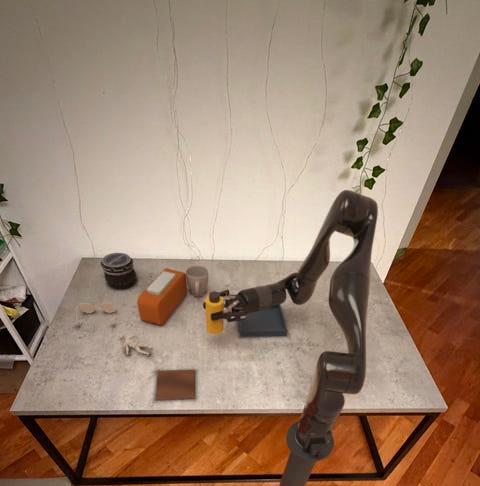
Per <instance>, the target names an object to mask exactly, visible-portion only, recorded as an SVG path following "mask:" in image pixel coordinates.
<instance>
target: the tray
mask: <svg viewBox="0 0 480 486" xmlns="http://www.w3.org/2000/svg"><path fill="white" fill-rule="evenodd" d="M238 325H239V332H240V337H241V338H244V337H245V338H246V337H251V338H252V337H287V334H288V328H287V324H286V319H285V317H284V312H283V309H282V304H280V305H276V306H272V307H269V308H266V309H264V310H260V311H257V312H253V313H249V314H246V319H245V320H242V321H238Z"/></svg>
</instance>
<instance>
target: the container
mask: <svg viewBox="0 0 480 486" xmlns="http://www.w3.org/2000/svg"><path fill="white" fill-rule="evenodd" d="M100 266H101V268H102V271H103V273H104V280H105V282H106V283H107V284H108V285H109V287H110V288H112V289H115V290H125V289H129V288H131V287H133V286H134V285H135V284H136V281H137V280H136V277H137V273H136V271H135V269H134V267H135V266H134V259H133V258H132V257H131V256H130V255H129V254H128V253H123V252H112V253H108V254H106V255H105V256H103V257H102V259H101V262H100Z"/></svg>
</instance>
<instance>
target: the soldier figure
mask: <svg viewBox="0 0 480 486" xmlns="http://www.w3.org/2000/svg"><path fill="white" fill-rule="evenodd" d="M137 335H138V334H137V333H134V334H132V335H127V336H125V334H121V335H119V337H118V339H119V340H120V341H123V345H124V347H125V350H126V355H127V356H128V355H130V354H129V351H130V348H132V349H134V350H135V351H136V352H137V353H138V354H141V355H143V354H144V355H146V356H147V357H148V356H150V355H151V354H150V352H147V351H144V350H142V349H141V348H149V350H153V347H152V346H150V345H148V344H146V343H144V342H139V341H136V340H135V339H134V338H135V337H137Z"/></svg>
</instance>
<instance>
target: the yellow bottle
mask: <svg viewBox="0 0 480 486" xmlns="http://www.w3.org/2000/svg"><path fill="white" fill-rule="evenodd" d="M204 302H205V305H206V309H205V324H206V325H205V326H206V332H207V333H209V334H212V335H219V334H221V333H223V331H224V329H225V328H224V325H225V324H224V320H225V319H220V320H216V321H212V320H211V314H212V313H216V312H220V311H222V312H223V311H224V310H225V308H224V304H225V300H223V298H222V297H221V296H220V294H219V291H216V290H215V291H210V292H209V294H208V296H206V297H205V301H204Z"/></svg>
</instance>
